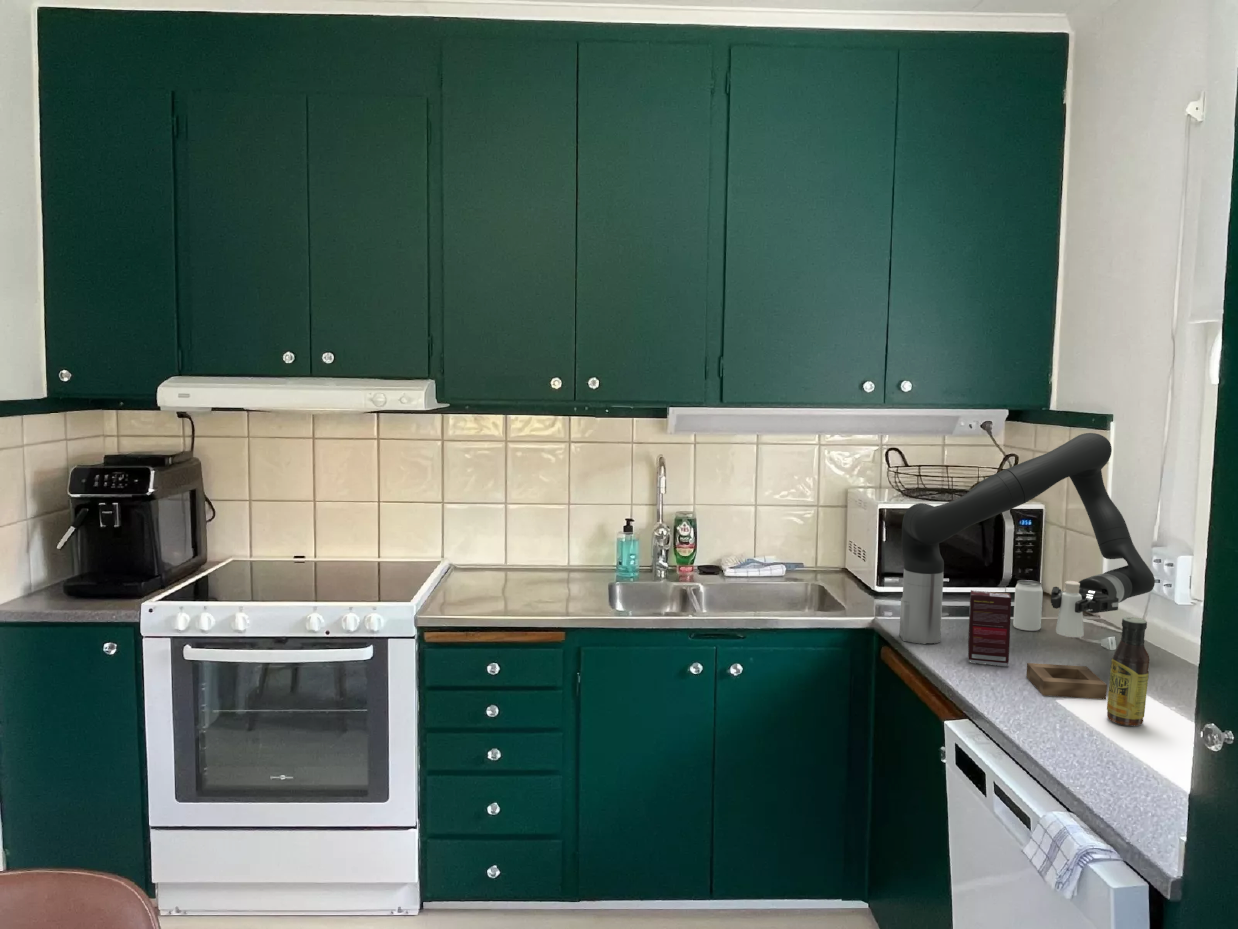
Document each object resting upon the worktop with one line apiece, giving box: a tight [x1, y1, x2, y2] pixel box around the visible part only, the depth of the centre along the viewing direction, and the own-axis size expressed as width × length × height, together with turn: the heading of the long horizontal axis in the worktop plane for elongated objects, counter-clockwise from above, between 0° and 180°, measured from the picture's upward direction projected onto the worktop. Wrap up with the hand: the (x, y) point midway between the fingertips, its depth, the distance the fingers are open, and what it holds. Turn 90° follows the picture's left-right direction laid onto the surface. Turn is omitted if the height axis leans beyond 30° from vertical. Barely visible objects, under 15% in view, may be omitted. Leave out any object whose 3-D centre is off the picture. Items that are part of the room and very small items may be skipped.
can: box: [1012, 579, 1044, 632], centre depth 238 cm, size 6×6×12 cm
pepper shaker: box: [1055, 580, 1085, 638], centre depth 192 cm, size 5×5×11 cm
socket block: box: [1025, 662, 1108, 700], centre depth 193 cm, size 12×12×3 cm
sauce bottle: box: [1106, 616, 1150, 727], centre depth 173 cm, size 6×6×20 cm
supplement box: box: [967, 589, 1012, 668], centre depth 209 cm, size 9×5×16 cm, turn 71°
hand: (1065, 605), depth 190 cm, fingers closed on pepper shaker, 4 cm apart
